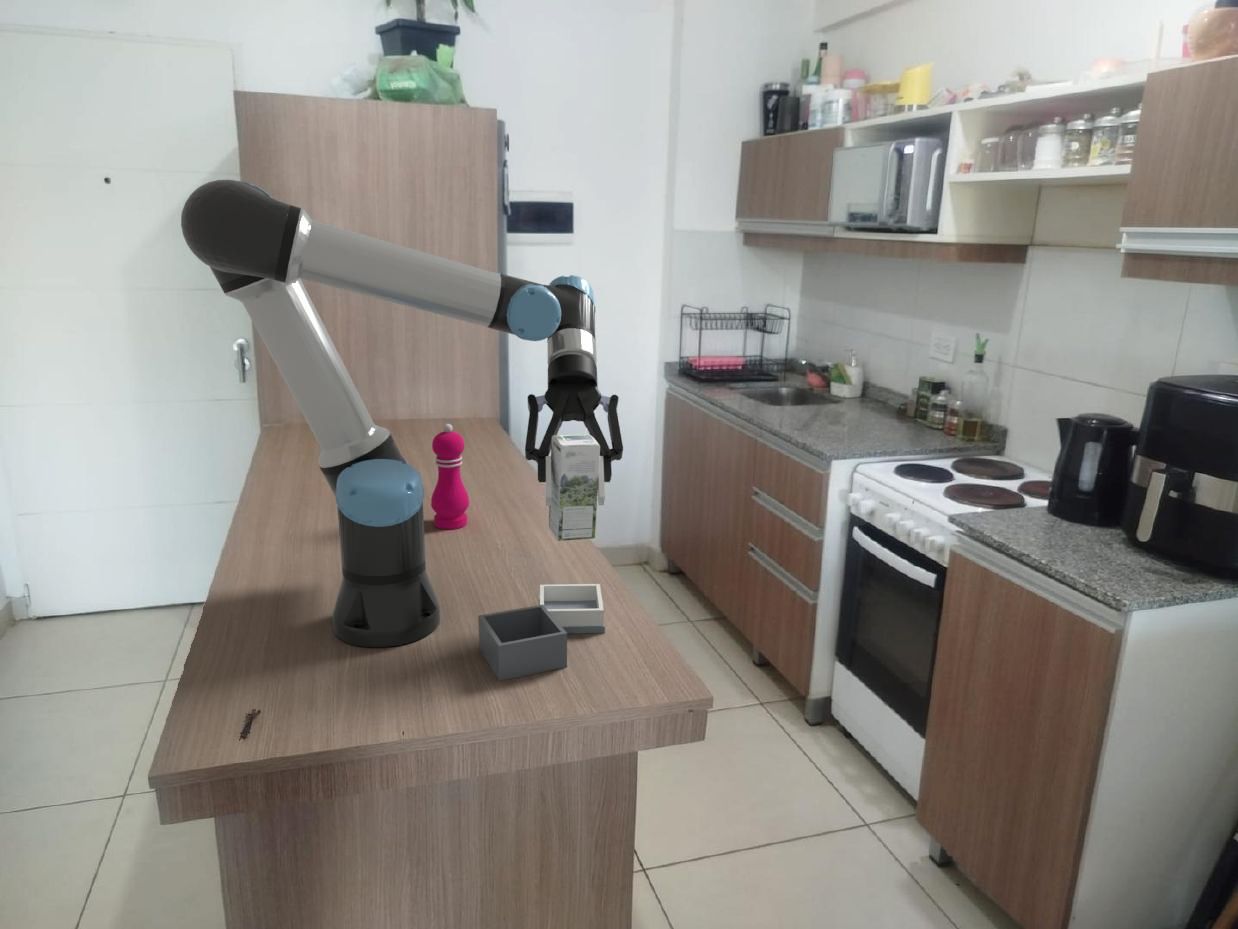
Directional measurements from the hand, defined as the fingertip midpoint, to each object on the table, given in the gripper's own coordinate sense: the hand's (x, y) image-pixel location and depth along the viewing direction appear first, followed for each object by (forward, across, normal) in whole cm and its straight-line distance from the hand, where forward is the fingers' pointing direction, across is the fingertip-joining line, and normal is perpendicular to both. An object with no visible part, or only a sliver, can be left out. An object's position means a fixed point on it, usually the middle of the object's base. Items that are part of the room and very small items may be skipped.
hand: (575, 501), depth 121 cm
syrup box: (+2, 0, -7) cm, 7 cm away
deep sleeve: (+20, +7, -8) cm, 23 cm away
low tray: (+12, 0, -16) cm, 20 cm away
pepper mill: (-18, +22, -46) cm, 54 cm away
